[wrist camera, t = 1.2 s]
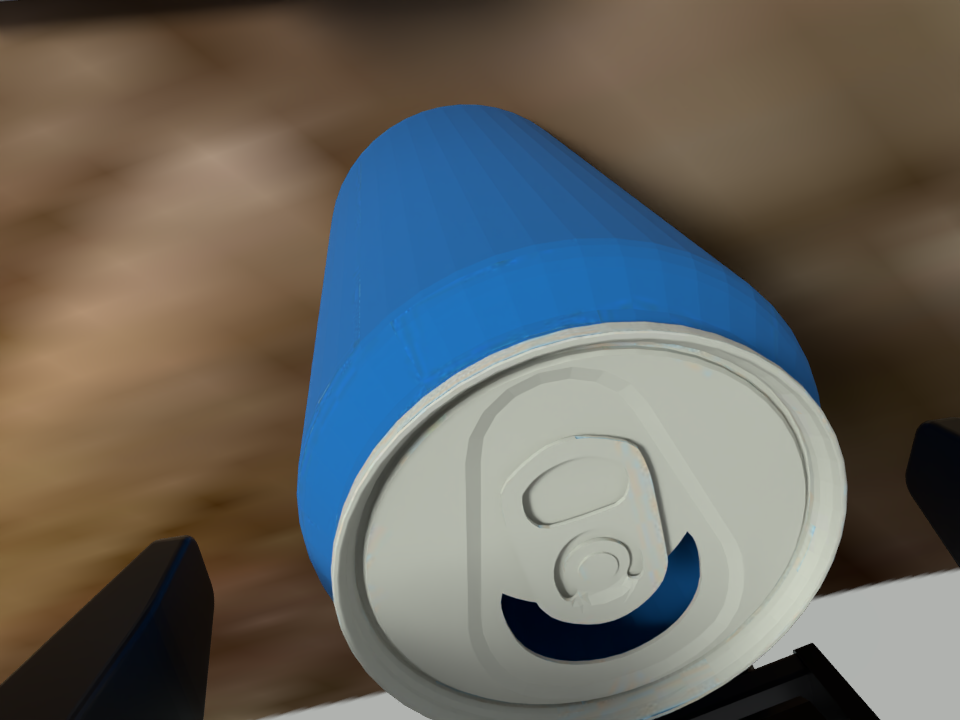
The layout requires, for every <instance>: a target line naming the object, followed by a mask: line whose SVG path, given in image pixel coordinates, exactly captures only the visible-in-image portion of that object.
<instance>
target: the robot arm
mask: <svg viewBox="0 0 960 720" xmlns="http://www.w3.org/2000/svg"><path fill="white" fill-rule="evenodd" d="M905 477H906V484H907V487H908V490H909V492H910V494H911V496H912V497H913V499H914V500H915V502H916V503H917V505H918V506H919V508H920V509H921V511H922V512H923V514H924V515H925V517H926V518H927V520H928V521H929V523H930V524H931V526H932V527H933V529H934V530H935V532H936V533H937V535H938V536H939V538H940V539H941V540H942V542H943V543H944V545H945V546H946V548H947V549H948V551H949V552H950V554H951V555H952V557H953V558H954V560H955V561H956V563H957V564H958V566H959V567H960V418H956V417H949V418H943V419H936V420H930V421H926V422H924V423H922V424H921V425H920V426H919V427H918V429H917V431H916V433H915V437H914V441H913V445H912V449H911V453H910V457H909V461H908V465H907V469H906V474H905ZM213 613H214V593H213V588H212V584H211V581H210V578H209V576H208V573H207V570H206V567H205V564H204V561H203V558H202V555H201V553H200V550H199V547H198V544H197V542H196V541H195V540H194V538H193V537H191V536H188V535H184V536H177V537H171V538H164V539H159V540H156V541H154V542H152V543H151V544H150V545H149V546H148V547H147V548H146V549H144V550H143V551H142V552H141V553H140V554H139V555H138V556H137V557H136V558H135V559H134V560H133V561H132V562H131V563H130V564H128V565H127V566H126V567H125V568H124V569H123V570H122V571H121V572H120V573H119V574H118V575H117V576H116V577H115V578H114V579H113V580H111V581H110V582H109V583H108V584H107V585H106V586H105V587H104V588H103V589H102V590H101V591H100V592H99V593H98V594H97V595H95V596H94V597H93V598H92V599H91V600H90V601H89V602H88V603H87V604H86V605H85V606H84V607H83V608H82V609H81V610H79V611H78V612H77V613H76V614H75V615H74V616H73V617H72V618H71V619H70V620H69V621H68V622H67V623H66V624H65V625H64V626H62V627H61V628H60V629H59V630H58V631H57V632H56V633H55V634H54V635H53V636H52V637H51V638H50V639H49V640H48V641H46V642H45V643H44V644H43V645H42V646H41V647H40V648H39V649H38V650H37V651H36V652H35V653H34V654H33V655H32V656H31V657H29V658H28V659H27V660H26V661H25V662H24V663H23V664H22V665H21V666H20V667H19V668H18V669H17V670H16V671H15V672H13V673H12V674H11V675H10V676H9V677H8V678H7V679H6V680H5V681H4V682H3V683H2V684H1V685H0V720H203V717H204V707H205V697H206V687H207V676H208V666H209V655H210V645H211V634H212V624H213ZM793 653H794V654H793V655H790V656H788V657H785V658H782V659H780V660H777V661H775V662H772V663H770V664H767V665H764V666H762V667H759V668H757V669H754V667H753V665H751V666H750V667H748V668H747V669H746V670H744V671H743V672H742V673H740V674H739V675H737V676H736V677H734V678H733V679H732V680H730V681H729V682H727V683H726V684H724V685H723V686H721V687H719V688H718V689H716V690H714V691H712V692H711V693H709V694H707V695H706V696H704V697H702V698H700V699H699V700H697V701H695V702H692V703H690V704H688V705H686V706H684V707H682V708H680V709H678V710H676V711H673V712H671V713H669V714H666V715H663V716H661V717H658V718H655V719H653V720H880V719H879V718H878V717H877V716H876V714H875V713H874V712H873V711H872V710H871V709H870V708H869V707H868V705H867V704H866V703H865V702H864V701H863V700H862V698H861V697H860V696H859V695H858V694H857V693H856V692H855V691H854V689H853V688H852V687H851V686H850V685H849V684H848V682H847V681H846V680H845V679H844V678H843V677H842V676H841V674H840V673H839V672H838V671H837V670H836V669H835V668H834V666H833V665H832V664H831V663H830V662H829V661H828V659H827V658H826V657H825V656H824V655H823V654H822V653H821V651H820V650H819V649H818V648H817V647H816V646H815V645H814V644H813V643H811V644H808V645H805V646H803V647H800V648H798V649H795V650H793Z"/></svg>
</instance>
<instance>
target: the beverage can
mask: <svg viewBox="0 0 960 720" xmlns="http://www.w3.org/2000/svg"><path fill="white" fill-rule="evenodd" d="M297 501H298V511H299V521H300V526H301V530H302V534H303V537H304V541H305V544H306V548H307V551H308V555H309V558H310V560H311V562H312V564H313V566H314V568H315V571H316V573H317V575H318V577H319V579H320V581H321V583H322V585H323V587H324V588H325V590H326V592H327V593H328V594H329V596H330V597H331V599H332V600H333V602H334V605H335V609H336V613H337V616H338V620H339V624H340V627H341V630H342V632H343V634H344V636H345V638H346V641H347V643H348V645H349V647H350V649H351V651H352V653H353V654H354V655H355V657H356V658H357V660H358V661H359V662H360V664H361V665H362V667H363V668H364V670H365V671H366V672H367V673H368V674H369V675H370V676H371V677H372V678H373V679H374V680H375V681H376V682H377V683H378V684H379V685H380V686H381V687H382V688H383V689H384V690H385V691H386V692H387V693H389V694H390V695H392V696H393V697H394V698H396V699H397V700H398V701H400V702H401V703H402V704H404V705H405V706H407V707H409V708H411V709H412V710H414V711H416V712H418V713H420V714H422V715H423V716H425V717H427V718H430V719H432V720H653V719H655V718H658V717H661V716H663V715H666V714H669V713H671V712H673V711H676V710H678V709H680V708H682V707H684V706H686V705H688V704H690V703H692V702H695V701H697V700H699V699H700V698H702V697H704V696H706V695H707V694H709V693H711V692H712V691H714V690H716V689H718V688H719V687H721V686H723V685H724V684H726V683H727V682H729V681H730V680H732V679H733V678H734V677H736V676H737V675H739V674H740V673H742V672H743V671H744V670H746V669H747V668H748V667H750V666H751V665H752V664H753V663H754V662H756V661H757V660H758V659H759V658H760V657H762V656H763V655H764V654H765V653H766V652H767V651H768V650H770V649H771V648H772V647H773V646H774V645H775V644H776V643H777V642H778V641H779V640H780V639H781V638H782V637H783V636H784V635H785V634H786V633H787V632H788V630H789V629H790V628H791V627H792V626H793V624H794V623H795V622H796V621H797V619H798V618H799V617H800V616H801V615H802V613H803V612H804V611H805V610H806V608H807V607H808V605H809V604H810V602H811V601H812V599H813V597H814V596H815V594H816V593H817V591H818V590H819V588H820V587H821V585H822V583H823V581H824V579H825V577H826V575H827V573H828V571H829V569H830V567H831V565H832V563H833V560H834V557H835V555H836V552H837V549H838V546H839V543H840V540H841V537H842V532H843V527H844V522H845V517H846V511H847V479H846V471H845V464H844V459H843V456H842V453H841V449H840V446H839V443H838V440H837V437H836V435H835V433H834V431H833V429H832V427H831V425H830V423H829V422H828V420H827V418H826V416H825V414H824V412H823V411H822V410H821V407H820V401H819V395H818V391H817V387H816V384H815V381H814V378H813V375H812V372H811V369H810V366H809V363H808V360H807V358H806V356H805V354H804V353H803V351H802V349H801V347H800V345H799V343H798V341H797V339H796V338H795V336H794V334H793V332H792V330H791V329H790V327H789V326H788V325H787V324H786V322H785V321H784V320H783V318H782V317H781V316H780V315H779V313H778V312H777V311H776V309H775V308H774V307H773V306H772V305H771V304H770V303H769V302H768V301H767V300H766V299H765V298H764V297H763V296H761V295H760V294H759V293H758V292H757V291H756V290H755V289H754V288H753V287H752V286H750V285H749V284H748V283H747V282H745V281H744V280H743V279H741V278H740V277H739V276H737V275H736V274H735V273H733V272H732V271H731V270H730V269H728V268H727V267H726V266H724V265H723V264H722V263H720V262H719V261H718V260H716V259H715V258H714V257H712V256H711V255H710V254H708V253H707V252H706V251H704V250H703V249H702V248H700V247H699V246H698V245H696V244H695V243H694V242H692V241H691V240H690V239H688V238H687V237H686V236H684V235H683V234H682V233H680V232H679V231H678V230H676V229H675V228H674V227H672V226H671V225H670V224H668V223H667V222H666V221H664V220H663V219H662V218H660V217H659V216H658V215H656V214H655V213H654V212H653V211H651V210H650V209H649V208H647V207H646V206H645V205H643V204H642V203H641V202H639V201H638V200H637V199H635V198H634V197H633V196H631V195H630V194H629V193H627V192H626V191H625V190H623V189H622V188H621V187H619V186H618V185H617V184H615V183H614V182H613V181H611V180H610V179H609V178H607V177H606V176H605V175H603V174H602V173H601V172H599V171H598V170H597V169H595V168H594V167H593V166H591V165H590V164H589V163H587V162H586V161H585V160H583V159H582V158H581V157H579V156H578V155H577V154H576V153H574V152H573V151H572V150H570V149H569V148H568V147H566V146H565V145H564V144H562V143H561V142H560V141H558V140H557V139H556V138H554V137H553V136H552V135H550V134H549V133H548V132H546V131H545V130H543V129H542V128H540V127H539V126H537V125H536V124H534V123H533V122H531V121H530V120H527V119H525V118H523V117H521V116H519V115H517V114H515V113H512V112H509V111H505V110H502V109H499V108H495V107H488V106H482V105H452V106H444V107H438V108H435V109H431V110H427V111H423V112H421V113H418V114H416V115H414V116H411V117H409V118H406V119H404V120H403V121H401V122H399V123H398V124H396V125H394V126H393V127H391V128H389V129H388V130H387V131H385V132H384V133H383V134H382V135H380V136H379V137H378V138H377V139H375V140H374V141H373V142H372V143H371V144H370V145H369V146H368V147H367V148H366V149H365V151H364V152H363V153H362V154H361V155H360V156H359V158H358V159H357V161H356V162H355V163H354V165H353V166H352V167H351V169H350V171H349V173H348V174H347V176H346V178H345V180H344V182H343V184H342V186H341V189H340V192H339V194H338V197H337V200H336V203H335V208H334V213H333V217H332V224H331V231H330V238H329V246H328V253H327V260H326V268H325V275H324V282H323V290H322V297H321V304H320V312H319V319H318V327H317V334H316V341H315V349H314V356H313V363H312V371H311V378H310V385H309V393H308V400H307V407H306V415H305V422H304V429H303V437H302V444H301V452H300V459H299V468H298V484H297Z"/></svg>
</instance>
